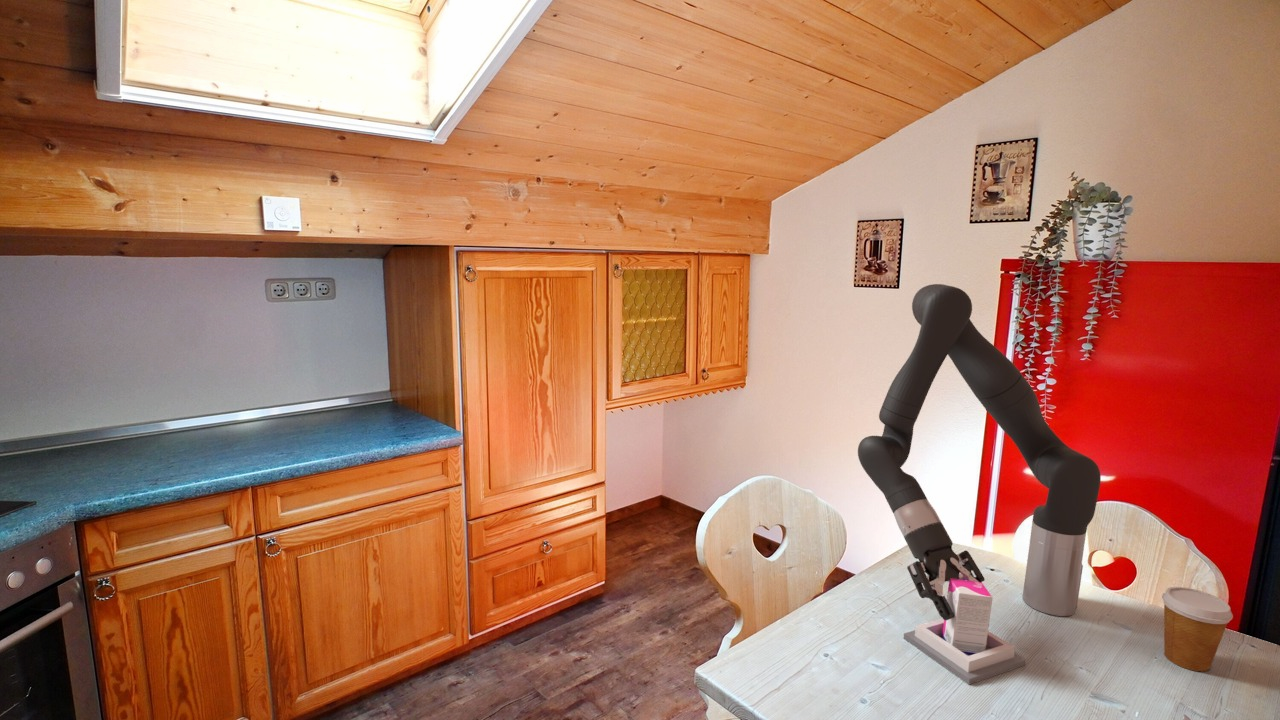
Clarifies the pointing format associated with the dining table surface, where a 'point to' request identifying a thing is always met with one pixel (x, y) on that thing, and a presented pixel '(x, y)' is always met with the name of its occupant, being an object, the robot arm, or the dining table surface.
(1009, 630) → the dining table surface
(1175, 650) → the disposable coffee cup
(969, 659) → the socket
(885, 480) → the robot arm
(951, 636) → the supplement box
